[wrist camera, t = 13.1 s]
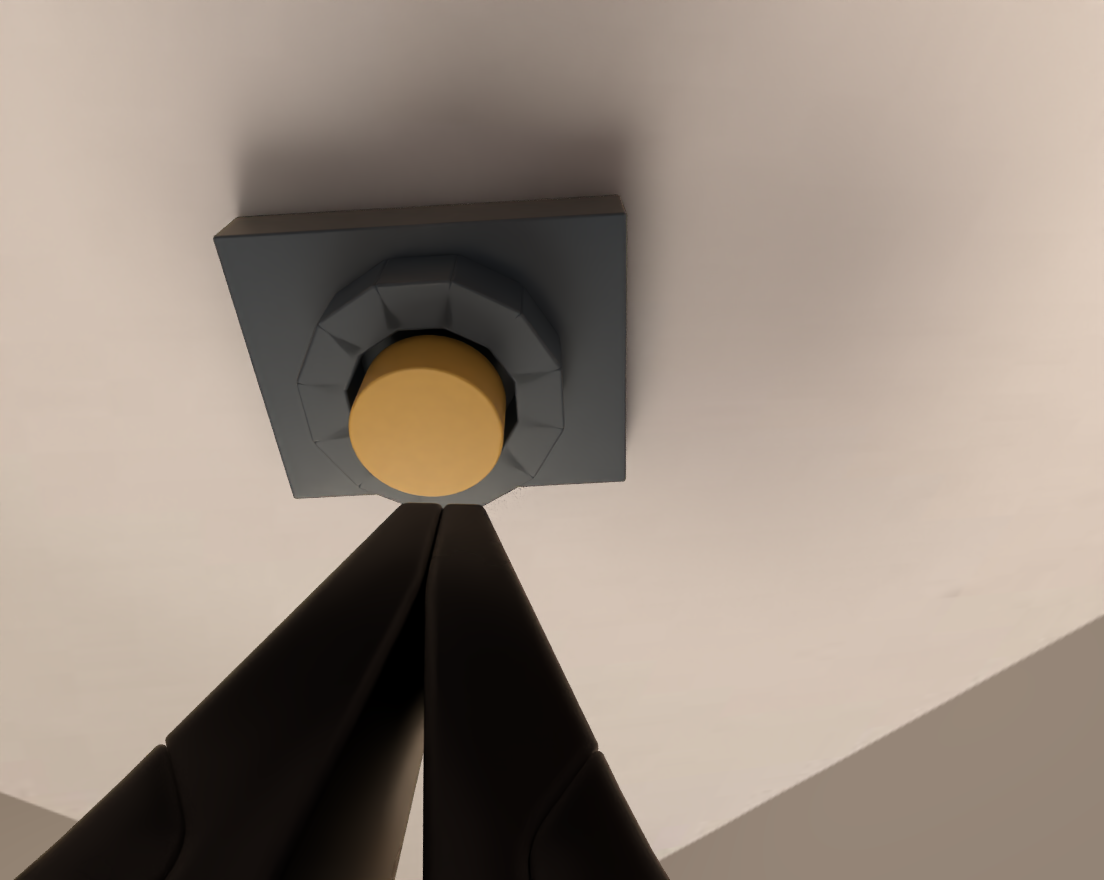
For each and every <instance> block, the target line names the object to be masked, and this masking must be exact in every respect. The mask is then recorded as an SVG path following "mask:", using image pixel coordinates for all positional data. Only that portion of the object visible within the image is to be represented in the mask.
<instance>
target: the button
mask: <svg viewBox="0 0 1104 880" xmlns="http://www.w3.org/2000/svg"><path fill="white" fill-rule="evenodd" d="M505 412H506V395H505V389H504V386H503V383H502V380H501V378H500V376H499V374H498V372H497V371H496V369H495V368H494V366H493V365H492V364H491V363H490V361H489V360H488V359H487V358H486V357H485V356H484V355H482V354H481V353H480V352H479V351H477V350H476V349H474V348H473V347H471V346H470V345H468V344H466V343H464V342H461V341H459V340H456V339H453V338H449V337H445V336H438V335H420V336H413V337H409V338H405V339H403V340H400V341H397V342H395V343H393V344H392V345H390V346H388V347H387V348H385V349H384V350H383V351H381V352H380V353H379V354H378V355H377V356H376V357H375V359H374V360H373V361H372V363H371V364H370V366H369V368H368V370H367V372H366V374H365V377H364V379H363V381H362V384H361V386H360V388H359V391H358V393H357V396H356V398H355V400H354V403H353V405H352V408H351V411H350V415H349V422H348V423H349V436H350V441H351V444H352V447H353V449H354V451H355V453H356V455H357V457H358V459H359V460H360V462H361V463H362V464H363V466H364V467H365V468H366V469H367V470H368V471H369V472H370V473H371V474H372V475H373V476H374V477H376V478H377V479H379V480H380V481H381V482H383V483H385V484H386V485H388V486H390V487H392V488H394V489H397V490H399V491H402V492H405V493H408V494H413V495H418V496H427V497H437V496H446V495H451V494H455V493H458V492H461V491H464V490H466V489H468V488H470V487H472V486H474V485H476V484H477V483H479V482H480V481H481V480H482V479H484V478H485V477H486V476H487V475H488V474H489V473H490V471H491V470H492V469H493V468H494V466H495V465H496V463H497V461H498V459H499V457H500V454H501V451H502V448H503V440H504V426H505Z"/></svg>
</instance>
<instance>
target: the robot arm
mask: <svg viewBox="0 0 1104 880" xmlns="http://www.w3.org/2000/svg"><path fill="white" fill-rule="evenodd" d="M165 741H166V746H167V747H166V746H165V745H161V744H160V745H158V746H156V747H155V748H154V749H153V750H152V751H151V752H150V753H149V754H148V755H147V756H146V757H145V758H144V759H143V760H142V761H141V762H140V763H139V764H138V765H137V766H136V767H135V768H134V769H133V770H132V771H131V772H130V773H129V774H128V775H127V776H126V777H125V778H124V779H123V780H122V781H121V782H120V783H119V784H117V785H116V786H115V787H114V788H113V789H112V790H111V791H110V792H109V793H108V794H107V795H106V796H105V797H104V798H103V799H102V800H101V801H100V802H98V803H97V804H96V805H95V806H94V807H93V808H92V809H91V810H90V811H89V812H88V813H87V814H86V815H85V816H84V817H83V818H82V819H81V820H79V821H78V822H77V823H76V824H75V825H74V826H73V827H72V828H71V829H70V830H69V831H68V832H67V833H66V834H65V835H64V836H63V837H61V839H59V840H58V841H57V842H56V843H55V844H54V845H53V846H52V847H50V848H49V849H48V850H47V851H46V852H45V853H44V854H42V855H41V856H40V857H39V858H38V859H37V860H36V861H34V862H33V863H32V864H31V865H30V866H29V867H28V868H27V869H25V870H24V871H23V872H22V873H21V874H20V875H18V876H17V877H16V878H15V879H14V880H395V876H396V872H397V867H398V863H399V858H400V854H401V850H402V845H403V841H404V836H405V832H406V827H407V823H408V819H409V814H410V810H411V805H412V801H413V796H414V792H415V788H416V783H417V779H418V774H419V770H420V765H421V761H422V756H423V752H424V772H423V880H670V879H669V877H668V876H667V874H666V872H665V871H664V869H663V868H662V866H661V864H660V862H659V861H658V859H657V857H656V856H655V854H654V852H653V851H652V849H651V847H650V845H649V843H648V841H647V839H646V838H645V836H644V834H643V832H642V830H641V828H640V826H639V824H638V822H637V820H636V818H635V817H634V815H633V813H632V811H631V809H630V807H629V805H628V803H627V801H626V799H625V797H624V796H623V794H622V792H621V790H620V788H619V786H618V784H617V782H616V779H615V777H614V775H613V773H612V771H611V769H610V767H609V765H608V763H607V761H606V759H605V757H604V755H603V753H602V752H600V751H598V743H597V741H596V739H595V737H594V735H593V733H592V731H591V729H590V726H589V724H588V722H587V720H586V718H585V716H584V714H583V712H582V710H581V708H580V706H579V704H578V702H577V699H576V697H575V695H574V693H573V691H572V689H571V687H570V685H569V683H568V681H567V679H566V677H565V675H564V672H563V670H562V668H561V666H560V664H559V662H558V660H557V658H556V656H555V654H554V652H553V650H552V647H551V645H550V643H549V641H548V639H547V637H546V635H545V633H544V631H543V629H542V627H541V625H540V623H539V620H538V618H537V616H536V614H535V612H534V610H533V608H532V606H531V604H530V602H529V600H528V598H527V596H526V593H525V591H524V589H523V587H522V585H521V583H520V581H519V579H518V577H517V575H516V573H515V571H514V569H513V566H512V564H511V562H510V560H509V558H508V556H507V554H506V552H505V550H504V548H503V546H502V544H501V541H500V539H499V537H498V535H497V533H496V531H495V529H494V527H493V525H492V523H491V521H490V519H489V517H488V514H487V512H486V510H485V509H484V508H483V506H481V505H478V504H447V505H446V506H445V507H444V508H442V507H441V505H440V504H438V503H415V502H408V503H404V504H402V505H400V506H399V507H398V508H397V509H396V510H395V511H394V512H393V513H392V514H391V515H390V516H389V517H388V518H387V519H386V520H385V521H384V522H383V523H382V524H381V525H380V526H379V527H378V528H377V529H376V530H375V531H374V532H373V533H372V534H371V535H370V536H369V537H368V538H367V539H366V540H365V541H364V542H363V543H362V544H361V545H360V546H359V547H358V548H357V549H356V550H355V551H354V552H353V553H352V554H351V555H350V556H349V557H348V558H347V559H346V560H345V561H344V562H343V563H342V564H341V565H340V566H339V567H338V568H337V569H335V570H334V571H333V572H332V573H331V574H330V575H329V576H328V577H327V578H326V579H325V580H324V581H323V582H322V583H321V584H320V585H319V586H318V587H317V588H316V589H315V590H314V591H313V592H312V593H311V594H310V595H309V596H308V597H307V598H306V599H305V600H304V601H303V602H302V603H301V604H300V605H299V606H298V607H297V608H296V609H295V610H294V611H293V612H292V613H291V614H290V615H289V616H288V617H287V618H286V619H285V620H284V621H283V622H282V623H281V624H280V625H279V626H278V627H277V628H276V629H275V630H274V631H273V632H272V633H271V634H270V635H269V636H268V637H267V638H266V639H265V640H264V641H263V642H262V643H261V644H260V645H259V646H258V647H257V648H256V649H255V650H254V651H253V652H252V653H251V654H250V655H249V656H248V657H247V658H246V659H245V660H244V661H242V662H241V663H240V664H239V665H238V666H237V667H236V668H235V669H234V670H233V671H232V672H231V673H230V674H229V675H228V676H227V677H226V678H225V679H224V680H223V681H222V682H221V683H220V684H219V685H218V686H217V687H216V688H215V689H214V690H213V691H212V692H211V693H210V694H209V695H208V696H207V697H206V698H205V699H204V700H203V701H202V702H201V703H200V704H199V705H198V706H197V707H196V708H195V709H194V710H193V711H192V712H191V713H190V714H189V715H188V716H187V717H186V718H185V719H184V720H183V721H182V722H181V723H180V724H179V725H178V726H177V727H176V728H175V729H174V730H173V731H172V732H171V733H170V734H169V735H168V736H167V737H166V740H165Z"/></svg>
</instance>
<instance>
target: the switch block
mask: <svg viewBox="0 0 1104 880" xmlns="http://www.w3.org/2000/svg"><path fill="white" fill-rule="evenodd" d="M213 240H214V243H215V246H216V249H217V253H218V256H219V259H220V262H221V265H222V269H223V272H224V275H225V278H226V281H227V285H228V288H229V291H230V294H231V298H232V301H233V304H234V307H235V310H236V314H237V317H238V320H239V323H240V326H241V330H242V333H243V336H244V339H245V342H246V346H247V349H248V352H249V355H250V358H251V362H252V365H253V368H254V371H255V374H256V378H257V381H258V384H259V387H260V390H261V394H262V397H263V400H264V403H265V406H266V410H267V413H268V416H269V419H270V422H271V426H272V429H273V432H274V435H275V439H276V442H277V445H278V448H279V451H280V455H281V458H282V461H283V464H284V467H285V471H286V474H287V477H288V480H289V483H290V487H291V490H292V493H293V496H294V498H296V499H300V498H319V497H338V496H356V495H375V494H377V495H380V496H382V497H385V498H388V499H390V500H393V501H396V502H399V503H401V504H404V503H408V502H415V503H438V504H440V505H441V507H442V508H444V507H445V506H446V505H447V504H478V505H481V506H484V505H486V504H488V503H490V502H491V501H493V500H495V499H497V498H499V497H501V496H502V495H504V494H506V493H508V492H510V491H512V490H514V489H515V488H517V487H527V486H545V485H564V484H583V483H602V482H621V481H625V479H626V310H627V214H626V211H625V209H624V206H623V203H622V200H621V198H620V196H619V195H608V196H591V197H574V198H557V199H540V200H523V201H505V202H488V203H471V204H454V205H437V206H420V207H402V208H385V209H368V210H351V211H334V212H317V213H299V214H282V215H265V216H248V217H237V218H235V219H234V220H233V221H232V222H231V223H229V224H228V225H227V226H226V227H225V228H223V229H222V230H221V231H220V232H219V233H217V234H216V235H215V236H214V238H213ZM420 335H438V336H445V337H449V338H453V339H456V340H459V341H461V342H464V343H466V344H468V345H470V346H471V347H473V348H474V349H476V350H477V351H479V352H480V353H481V354H482V355H484V356H485V357H486V358H487V359H488V360H489V361H490V363H491V364H492V365H493V366H494V368H495V369H496V371H497V372H498V374H499V376H500V378H501V380H502V383H503V386H504V389H505V395H506V412H505V426H504V440H503V448H502V451H501V454H500V457H499V459H498V461H497V463H496V465H495V466H494V468H493V469H492V470H491V471H490V473H489V474H488V475H487V476H486V477H485V478H484V479H482V480H481V481H480V482H479V483H477V484H476V485H474V486H472V487H470V488H468V489H466V490H464V491H461V492H458V493H455V494H451V495H446V496H437V497H427V496H418V495H413V494H408V493H405V492H402V491H399V490H397V489H394V488H392V487H390V486H388V485H386V484H385V483H383V482H381V481H380V480H379V479H377V478H376V477H374V476H373V475H372V474H371V473H370V472H369V471H368V470H367V469H366V468H365V467H364V466H363V464H362V463H361V462H360V460H359V459H358V457H357V455H356V453H355V451H354V449H353V447H352V444H351V441H350V436H349V423H348V422H349V415H350V411H351V408H352V405H353V403H354V400H355V398H356V396H357V393H358V391H359V388H360V386H361V384H362V381H363V379H364V377H365V374H366V372H367V370H368V368H369V366H370V364H371V363H372V361H373V360H374V359H375V357H376V356H377V355H378V354H379V353H380V352H381V351H383V350H384V349H385V348H387V347H388V346H390V345H392V344H393V343H395V342H397V341H400V340H403V339H405V338H409V337H413V336H420Z"/></svg>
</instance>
